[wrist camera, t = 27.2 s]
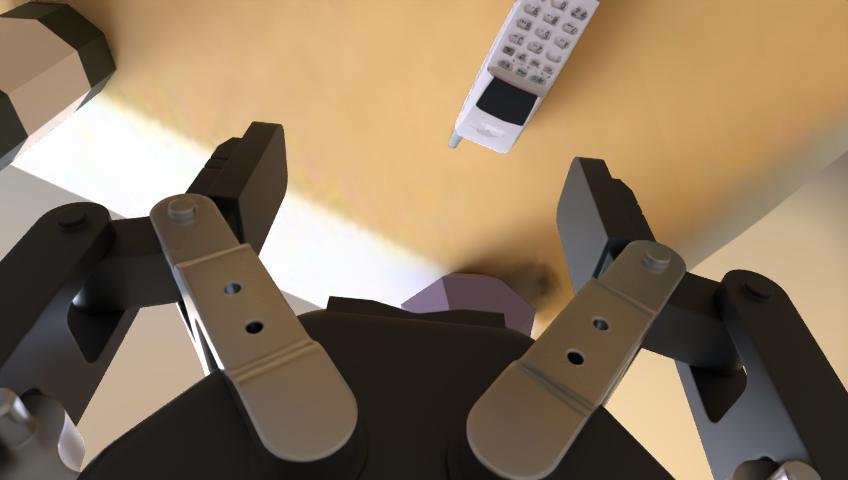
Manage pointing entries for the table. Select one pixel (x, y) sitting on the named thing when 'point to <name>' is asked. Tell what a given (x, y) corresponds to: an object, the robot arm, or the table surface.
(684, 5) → the table surface
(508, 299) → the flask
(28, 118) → the wine bottle
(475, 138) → the mobile phone
